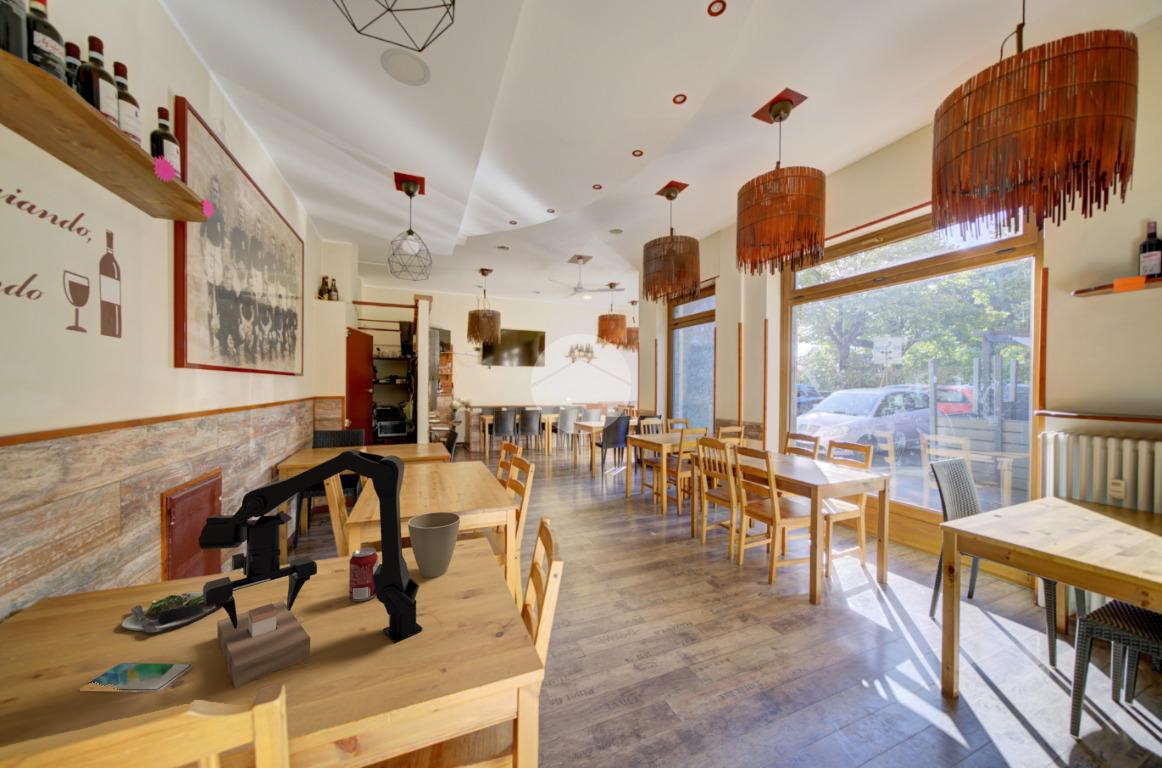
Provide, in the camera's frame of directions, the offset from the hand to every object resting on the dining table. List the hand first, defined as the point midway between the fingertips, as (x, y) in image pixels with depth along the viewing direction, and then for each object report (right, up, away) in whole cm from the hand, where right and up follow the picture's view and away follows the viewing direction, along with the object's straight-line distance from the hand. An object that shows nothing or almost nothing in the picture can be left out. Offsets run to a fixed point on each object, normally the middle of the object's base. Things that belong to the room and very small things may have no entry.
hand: (263, 618), depth 89 cm
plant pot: (+24, -7, +36) cm, 44 cm away
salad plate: (-30, -7, +13) cm, 34 cm away
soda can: (+10, -7, +22) cm, 25 cm away
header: (0, -6, 0) cm, 6 cm away
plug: (0, -6, 0) cm, 6 cm away
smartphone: (-17, -7, -9) cm, 20 cm away
